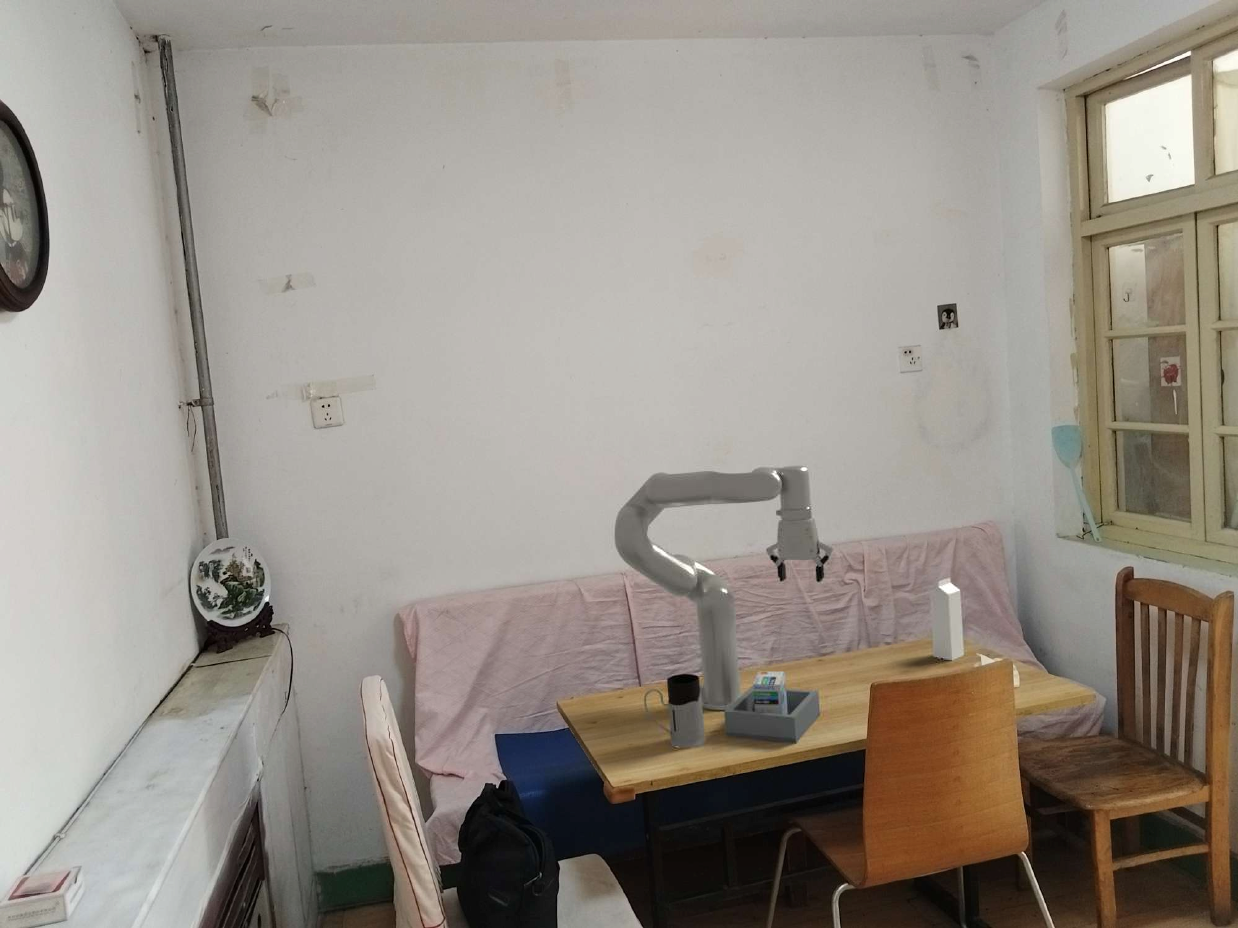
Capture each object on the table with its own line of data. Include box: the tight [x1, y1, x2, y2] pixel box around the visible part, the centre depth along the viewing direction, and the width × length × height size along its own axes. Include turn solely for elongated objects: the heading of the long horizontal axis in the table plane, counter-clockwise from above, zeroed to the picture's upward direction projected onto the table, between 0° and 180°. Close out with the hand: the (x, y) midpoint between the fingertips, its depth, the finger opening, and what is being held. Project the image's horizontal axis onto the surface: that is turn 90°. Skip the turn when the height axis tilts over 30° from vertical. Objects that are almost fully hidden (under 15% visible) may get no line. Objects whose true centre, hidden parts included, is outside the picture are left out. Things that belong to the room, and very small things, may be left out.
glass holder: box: [643, 673, 708, 749], centre depth 230 cm, size 9×14×15 cm, turn 107°
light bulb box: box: [752, 670, 788, 715], centre depth 236 cm, size 11×7×11 cm, turn 165°
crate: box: [723, 685, 821, 744], centre depth 236 cm, size 17×19×6 cm
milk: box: [929, 577, 965, 661], centre depth 277 cm, size 6×6×22 cm
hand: (801, 580), depth 253 cm, fingers open, 9 cm apart
